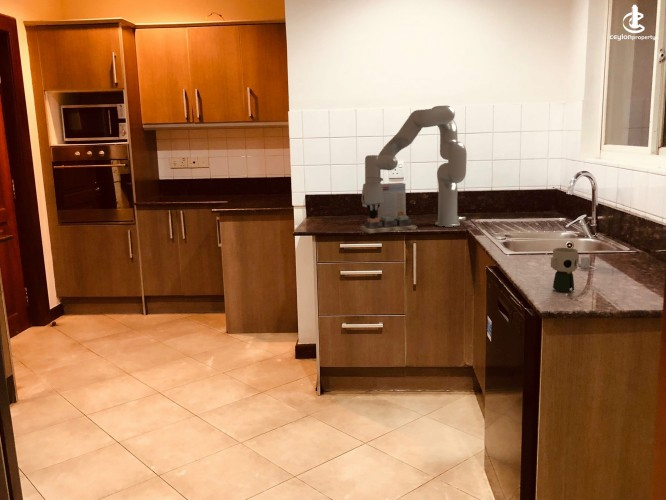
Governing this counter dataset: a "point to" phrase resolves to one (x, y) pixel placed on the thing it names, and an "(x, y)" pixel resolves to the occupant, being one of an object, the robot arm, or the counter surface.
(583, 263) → the teacup and saucer
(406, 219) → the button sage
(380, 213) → the cracker box
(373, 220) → the button terracotta
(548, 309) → the counter surface
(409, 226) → the button board
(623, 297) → the counter surface
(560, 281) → the beige and green figure
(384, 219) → the button slate
